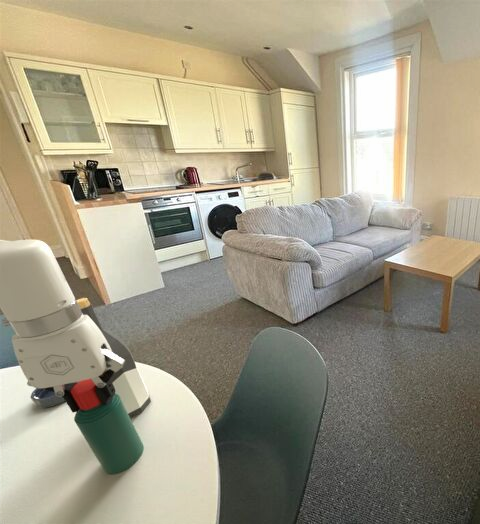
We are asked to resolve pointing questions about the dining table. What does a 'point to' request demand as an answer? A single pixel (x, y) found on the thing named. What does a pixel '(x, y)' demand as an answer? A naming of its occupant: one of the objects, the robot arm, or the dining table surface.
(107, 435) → the water bottle
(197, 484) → the dining table surface
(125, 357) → the wine bottle
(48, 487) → the dining table surface
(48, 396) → the dish
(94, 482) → the dining table surface
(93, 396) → the cap
